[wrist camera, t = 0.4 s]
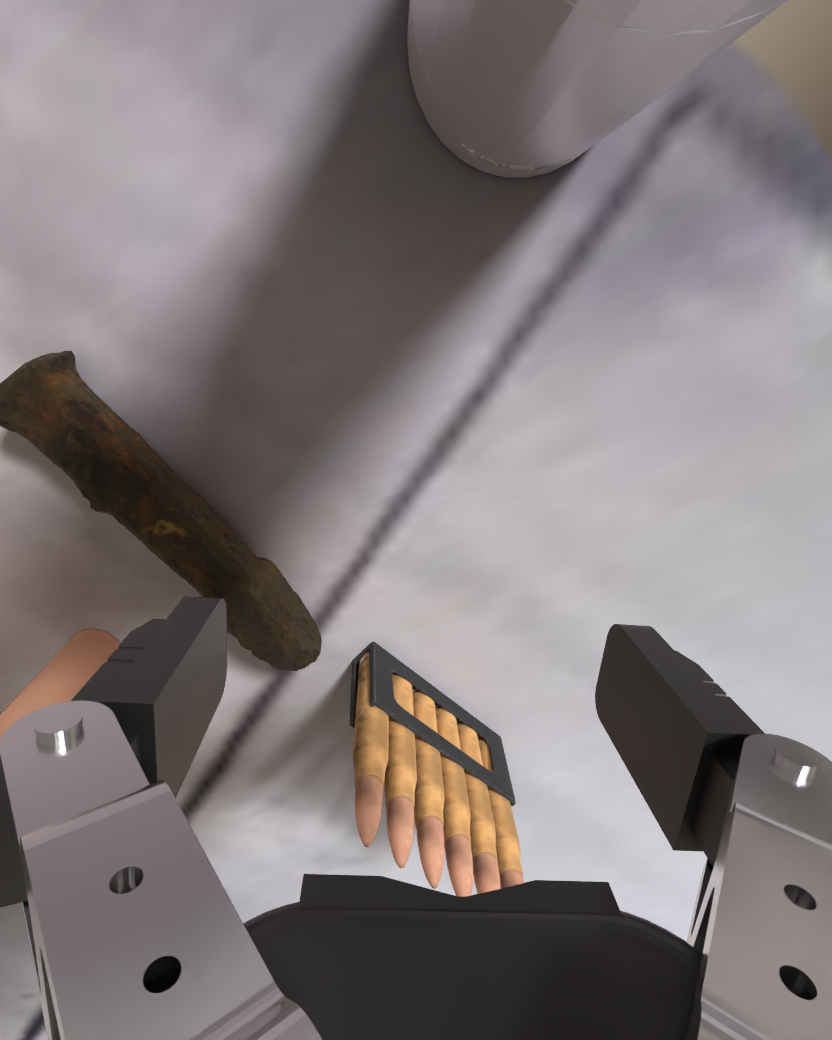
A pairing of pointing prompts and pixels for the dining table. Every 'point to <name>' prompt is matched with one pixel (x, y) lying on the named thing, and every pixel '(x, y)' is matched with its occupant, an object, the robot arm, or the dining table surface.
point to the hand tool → (156, 507)
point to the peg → (62, 675)
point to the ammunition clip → (431, 777)
